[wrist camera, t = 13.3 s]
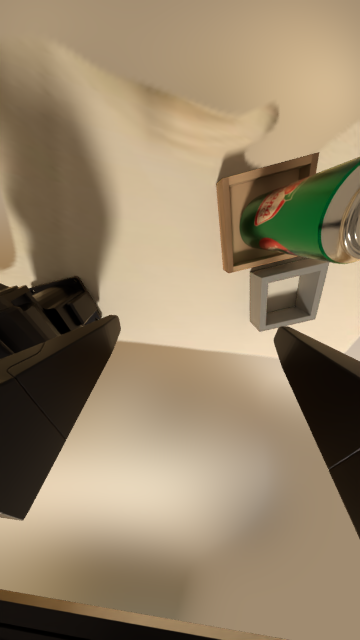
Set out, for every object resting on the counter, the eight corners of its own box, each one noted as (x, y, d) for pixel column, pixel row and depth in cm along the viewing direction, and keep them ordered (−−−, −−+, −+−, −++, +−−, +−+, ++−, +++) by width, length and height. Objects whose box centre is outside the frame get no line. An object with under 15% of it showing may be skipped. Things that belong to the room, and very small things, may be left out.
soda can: (271, 181, 16) (471, 87, 6) (288, 226, 18) (456, 219, 8) (228, 219, 17) (325, 200, 7) (249, 257, 19) (347, 286, 9)
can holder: (249, 321, 25) (259, 331, 22) (249, 272, 21) (261, 278, 18) (299, 309, 24) (315, 319, 22) (308, 258, 21) (329, 261, 18)
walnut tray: (223, 269, 20) (228, 273, 19) (216, 184, 16) (222, 178, 14) (290, 253, 20) (302, 255, 18) (302, 160, 16) (319, 152, 14)
